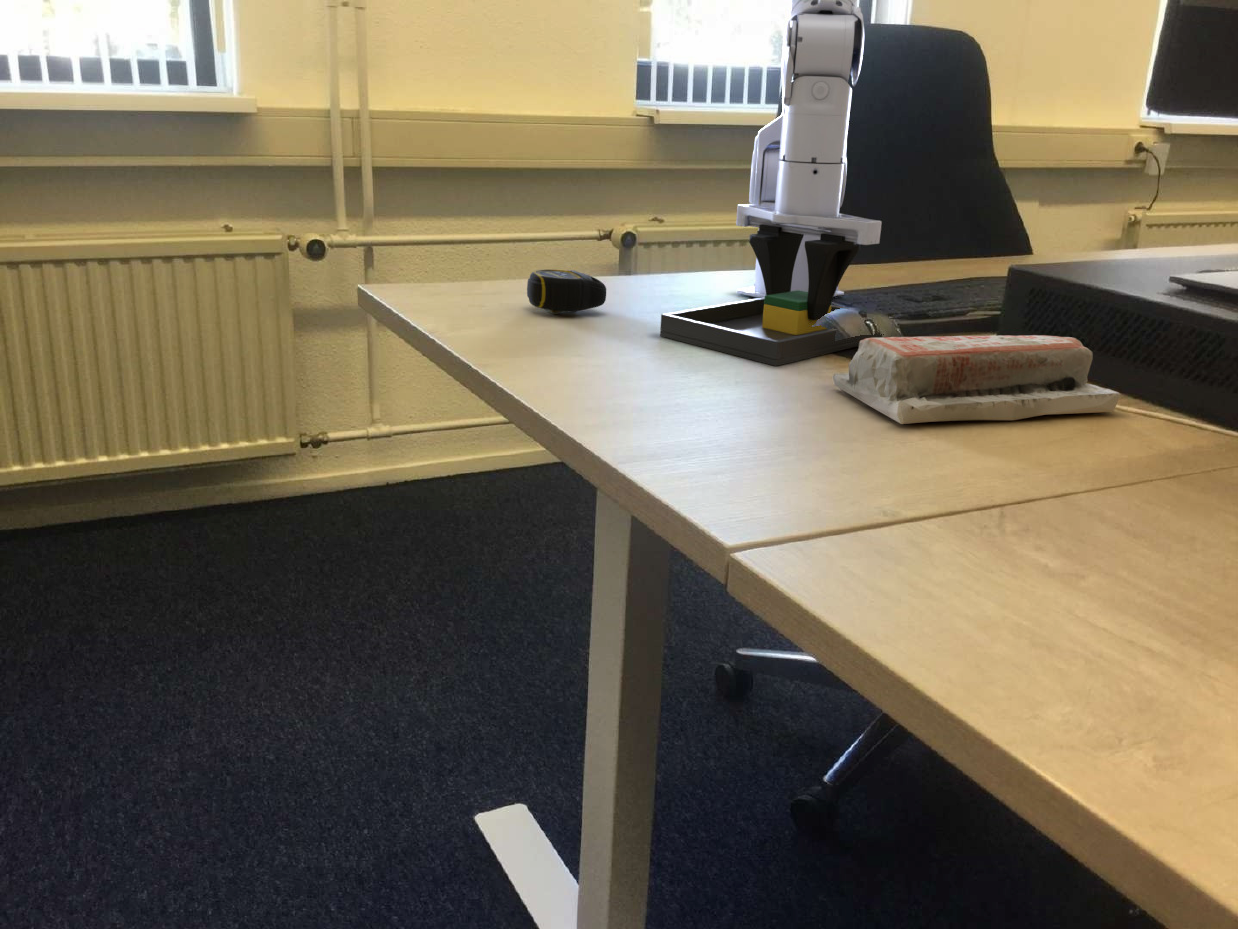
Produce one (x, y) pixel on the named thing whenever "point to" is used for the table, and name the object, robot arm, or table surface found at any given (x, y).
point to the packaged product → (974, 378)
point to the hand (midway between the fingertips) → (796, 314)
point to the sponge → (789, 313)
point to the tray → (750, 333)
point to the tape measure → (564, 291)
